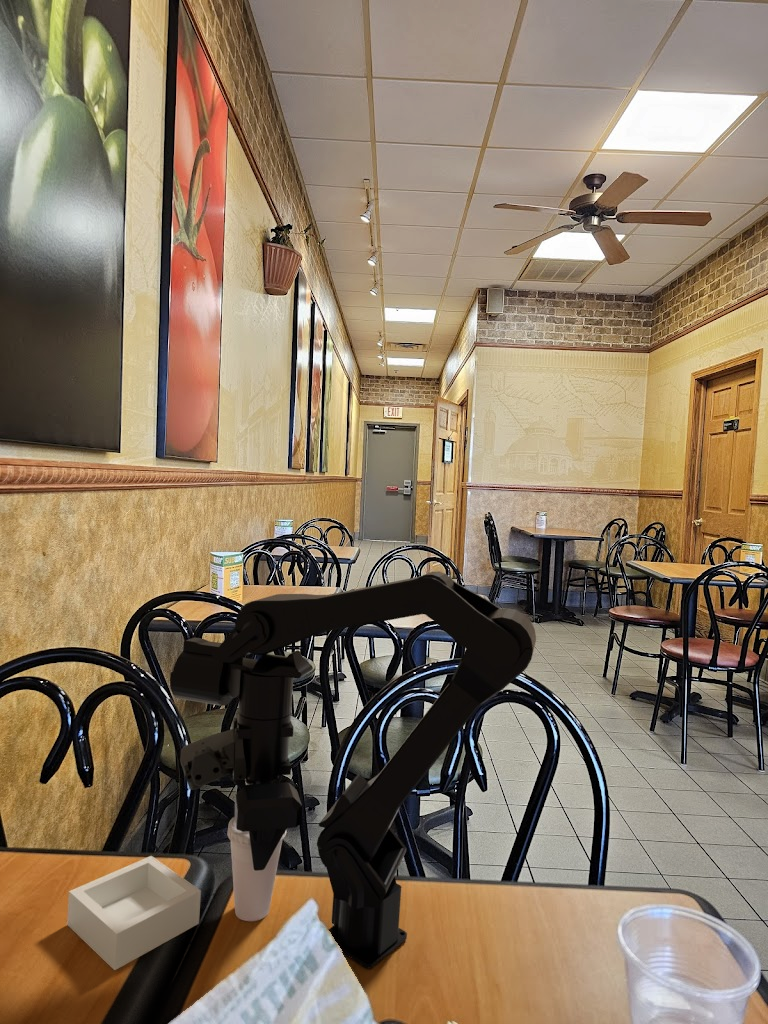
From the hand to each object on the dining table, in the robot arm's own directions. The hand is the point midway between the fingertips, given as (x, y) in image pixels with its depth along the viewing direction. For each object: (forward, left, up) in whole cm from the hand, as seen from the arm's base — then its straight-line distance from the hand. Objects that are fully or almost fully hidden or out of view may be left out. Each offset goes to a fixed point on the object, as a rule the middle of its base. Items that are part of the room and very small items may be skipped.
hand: (256, 852), depth 71 cm
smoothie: (0, 0, -7) cm, 7 cm away
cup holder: (+7, +10, -6) cm, 14 cm away
